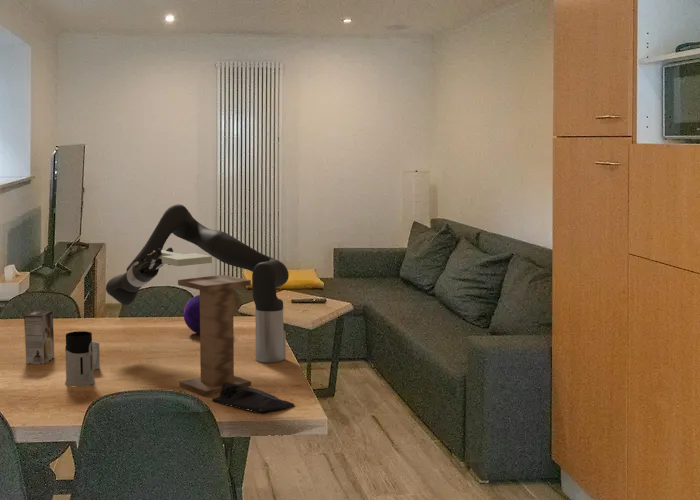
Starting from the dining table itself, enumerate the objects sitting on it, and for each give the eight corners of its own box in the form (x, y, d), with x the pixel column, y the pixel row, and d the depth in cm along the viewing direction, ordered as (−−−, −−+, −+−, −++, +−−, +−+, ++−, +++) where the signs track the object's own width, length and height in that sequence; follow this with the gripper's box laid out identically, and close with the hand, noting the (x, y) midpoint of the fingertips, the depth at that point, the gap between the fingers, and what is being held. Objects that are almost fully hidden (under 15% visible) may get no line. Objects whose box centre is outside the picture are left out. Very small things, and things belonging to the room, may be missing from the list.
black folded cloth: (255, 419, 233) (255, 402, 232) (207, 401, 249) (207, 384, 248) (299, 408, 243) (299, 391, 243) (251, 391, 259) (251, 375, 258)
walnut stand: (223, 376, 272) (223, 274, 269) (251, 386, 262) (250, 280, 258) (179, 386, 262) (177, 279, 258) (205, 396, 251) (204, 285, 248)
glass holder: (84, 377, 270) (82, 329, 268) (112, 385, 261) (110, 336, 260) (58, 383, 264) (57, 334, 262) (86, 392, 255) (85, 341, 253)
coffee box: (36, 357, 295) (34, 310, 293) (54, 357, 294) (53, 310, 292) (25, 364, 285) (23, 315, 284) (44, 364, 285) (43, 315, 283)
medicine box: (94, 366, 284) (93, 340, 283) (100, 369, 280) (99, 342, 279) (70, 370, 279) (69, 343, 278) (76, 373, 275) (75, 346, 274)
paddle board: (174, 255, 284) (174, 249, 284) (211, 262, 269) (211, 256, 269) (141, 258, 276) (140, 251, 276) (177, 266, 261) (177, 259, 260)
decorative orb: (210, 327, 344) (210, 290, 342) (231, 334, 332) (231, 295, 331) (176, 332, 334) (176, 293, 332) (196, 339, 323) (196, 299, 321)
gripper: (119, 263, 284) (142, 241, 273) (158, 259, 294) (182, 238, 282) (125, 284, 283) (149, 263, 271) (164, 280, 292) (188, 259, 280)
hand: (165, 250), depth 276 cm, fingers closed on paddle board, 3 cm apart
